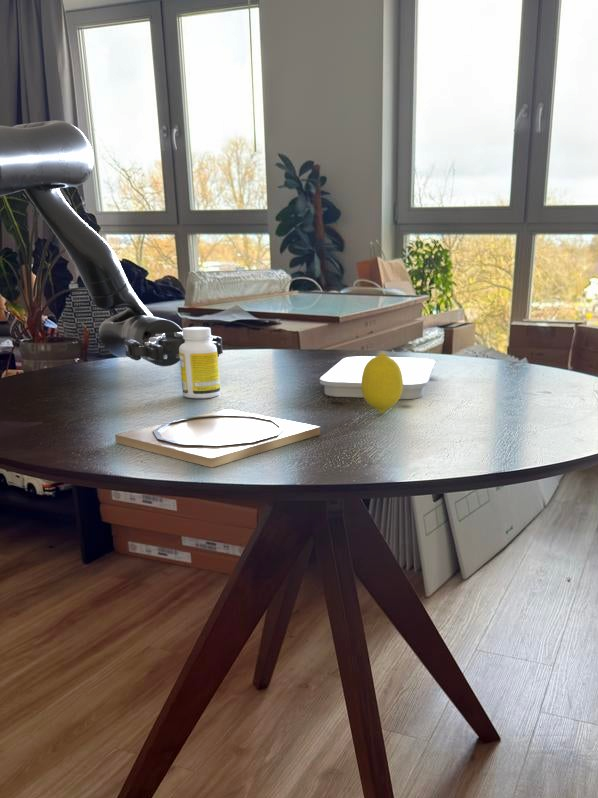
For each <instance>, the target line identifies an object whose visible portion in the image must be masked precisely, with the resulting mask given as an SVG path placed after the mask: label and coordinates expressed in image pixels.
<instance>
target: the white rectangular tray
mask: <svg viewBox="0 0 598 798" xmlns="http://www.w3.org/2000/svg"><path fill="white" fill-rule="evenodd" d="M374 357H375V356H368V355H367V356H366V355H364V356H363V355H360V356H359V355H358V356H357V355H355V356H347V357H344V358H342V359H341V360H340V361H338V362H337V363H336V364H335V365H333V366H332V367H331V368H330V369H329V370H328V371H326V372H325V373H324V374H323V375H322V376H320V378H319V384H320V385H322V386H324V395H326V396H329V397H338V398H362V399H363V398H364V396H363V393H362V387H361V381H362V374H363V371H364V368H365V366H366V364H367V363H368V362H369V361H370V360H371V359H372V358H374ZM389 357H390V358H392V359H393V360H394V361H396V363H397V364H398V365H399V367H400V369H401V373H402V378H403V389H402V393H401V396H400V398H399V400H416V399H420V398H423V396H424V393H425V391H426V388H427V386H428V384H429V382H430V379H431V377H432V374H433V372H434V369H435V366H436V360H435V359H432V358H426V357H404V356H403V357H401V356H400V357H398V356H396V357H395V356H394V357H393V356H389ZM364 399H365V398H364Z"/></svg>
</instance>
